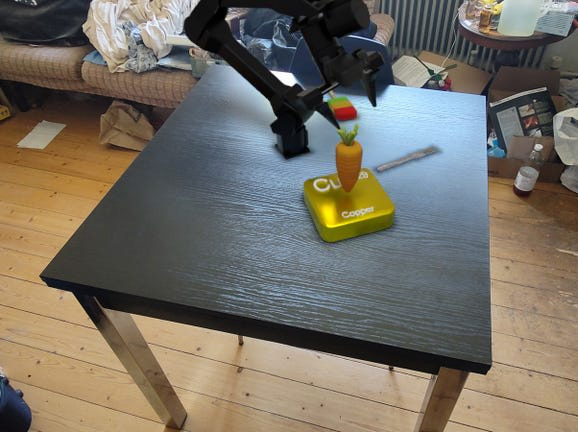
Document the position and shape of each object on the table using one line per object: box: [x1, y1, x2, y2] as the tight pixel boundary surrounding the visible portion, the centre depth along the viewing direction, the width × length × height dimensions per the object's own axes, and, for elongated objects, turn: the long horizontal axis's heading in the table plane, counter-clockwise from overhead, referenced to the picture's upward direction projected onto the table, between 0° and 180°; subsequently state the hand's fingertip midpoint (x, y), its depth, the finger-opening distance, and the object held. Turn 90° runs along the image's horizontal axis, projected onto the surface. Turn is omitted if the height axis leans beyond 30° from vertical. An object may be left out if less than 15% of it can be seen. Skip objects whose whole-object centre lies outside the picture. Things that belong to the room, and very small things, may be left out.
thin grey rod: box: [376, 146, 439, 173], centre depth 102 cm, size 17×2×1 cm, turn 120°
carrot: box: [334, 123, 364, 193], centre depth 81 cm, size 5×5×15 cm
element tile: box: [302, 167, 396, 243], centre depth 88 cm, size 15×15×5 cm
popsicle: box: [326, 90, 358, 122], centre depth 119 cm, size 6×15×2 cm, turn 19°
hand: (357, 118), depth 91 cm, fingers open, 9 cm apart
